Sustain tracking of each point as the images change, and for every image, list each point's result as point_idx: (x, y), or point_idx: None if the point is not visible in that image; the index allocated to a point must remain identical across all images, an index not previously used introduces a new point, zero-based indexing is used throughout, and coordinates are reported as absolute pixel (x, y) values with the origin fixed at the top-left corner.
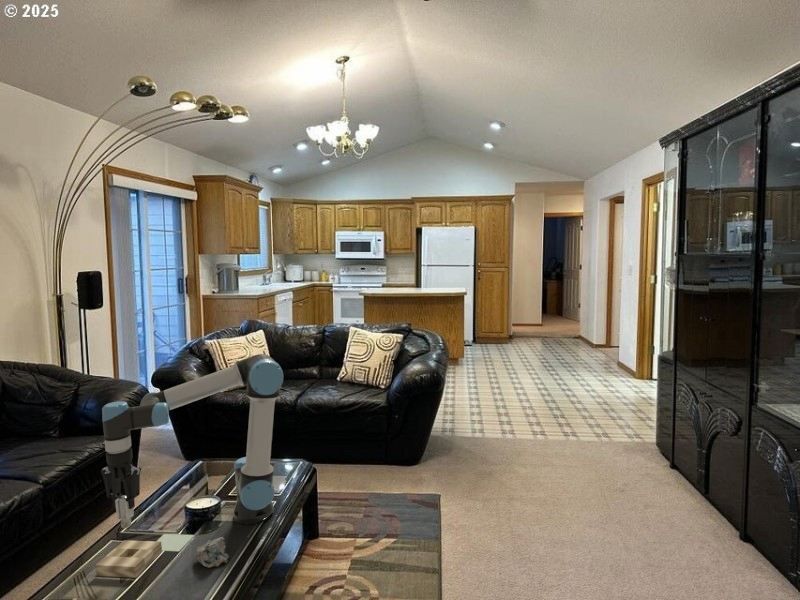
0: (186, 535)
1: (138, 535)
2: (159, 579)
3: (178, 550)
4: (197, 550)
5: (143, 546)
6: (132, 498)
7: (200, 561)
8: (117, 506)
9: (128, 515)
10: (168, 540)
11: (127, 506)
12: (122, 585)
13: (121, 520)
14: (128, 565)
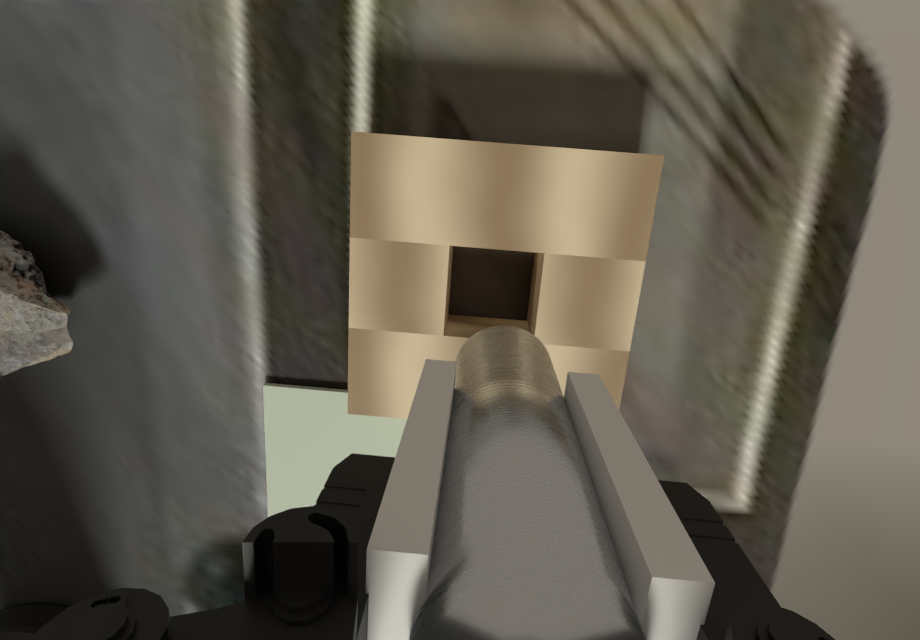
0: None
1: None
2: (220, 130)
3: (270, 393)
4: (61, 328)
5: None
6: (216, 617)
7: (2, 240)
8: (619, 478)
9: (420, 388)
10: None
11: (395, 465)
12: (416, 69)
13: (530, 361)
14: (409, 149)
